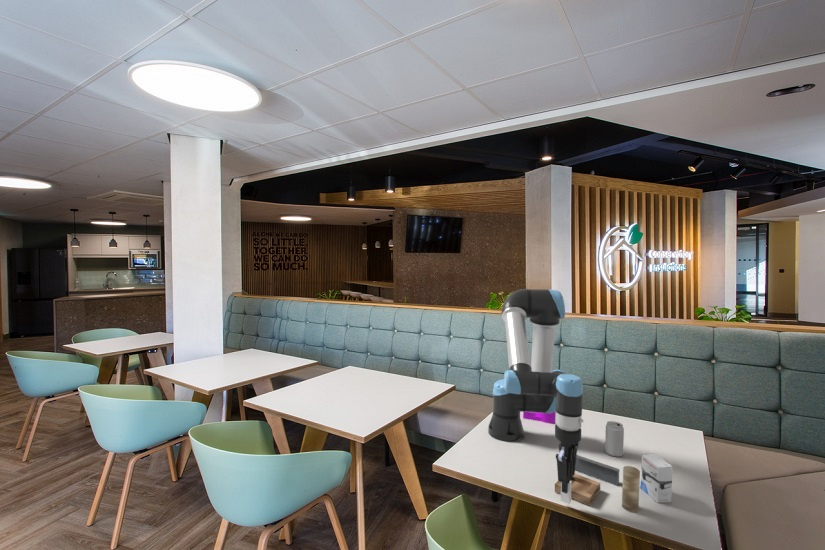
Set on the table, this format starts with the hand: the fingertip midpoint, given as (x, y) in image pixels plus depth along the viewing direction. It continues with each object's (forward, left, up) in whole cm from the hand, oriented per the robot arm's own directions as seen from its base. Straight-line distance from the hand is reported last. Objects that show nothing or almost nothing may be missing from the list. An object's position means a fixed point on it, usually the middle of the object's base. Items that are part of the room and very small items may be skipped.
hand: (565, 500), depth 121 cm
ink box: (+20, +26, -2) cm, 33 cm away
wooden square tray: (0, +11, -2) cm, 11 cm away
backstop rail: (0, +24, -2) cm, 24 cm away
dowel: (+15, +13, -2) cm, 20 cm away
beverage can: (+2, +46, -2) cm, 47 cm away
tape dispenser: (-33, +60, -2) cm, 69 cm away
